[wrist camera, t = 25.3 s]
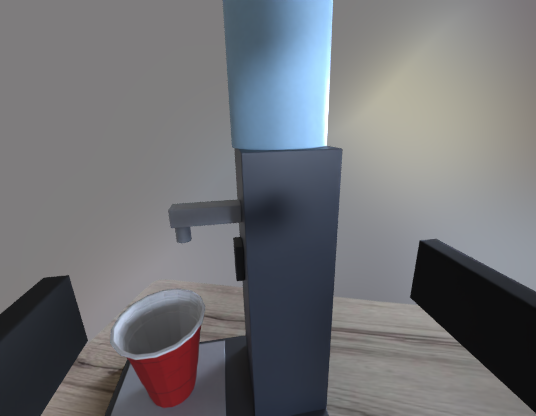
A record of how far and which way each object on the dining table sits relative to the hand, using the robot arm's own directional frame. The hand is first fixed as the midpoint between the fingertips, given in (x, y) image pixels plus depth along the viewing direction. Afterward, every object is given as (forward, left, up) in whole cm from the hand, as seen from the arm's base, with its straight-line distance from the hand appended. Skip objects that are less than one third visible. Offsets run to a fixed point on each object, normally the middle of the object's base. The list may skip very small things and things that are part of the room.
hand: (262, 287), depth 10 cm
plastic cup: (+3, -22, -28) cm, 36 cm away
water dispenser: (-3, -20, -30) cm, 36 cm away
